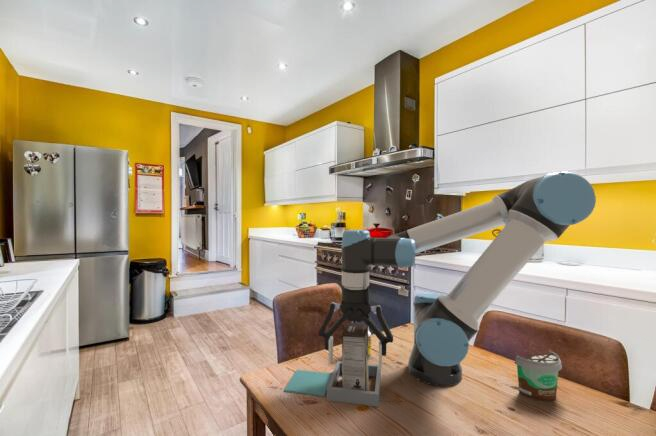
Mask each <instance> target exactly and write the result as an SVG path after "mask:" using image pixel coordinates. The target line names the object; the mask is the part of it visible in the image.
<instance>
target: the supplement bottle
mask: <svg viewBox="0 0 656 436" xmlns="http://www.w3.org/2000/svg"><path fill="white" fill-rule="evenodd" d="M370 331H371V330H370V328H369V326H368V360H369V359H370V358H371V356H372V331H371V332H370Z"/></svg>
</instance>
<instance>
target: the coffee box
mask: <svg viewBox="0 0 656 436" xmlns="http://www.w3.org/2000/svg"><path fill="white" fill-rule="evenodd" d="M341 361H342V373H341V376H342V378H341V379H342V381H341V382H342V383H341V384H342V385H341V386H342V387H341V388H346V389H355V390H363V391H368V384H369V376H368V364H369V359H368V325H367V324H366V323H357V322H356V323H353V322H350V323H349V322H347V323H346V324H345V326H344V329H343V331H342V334H341Z"/></svg>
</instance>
